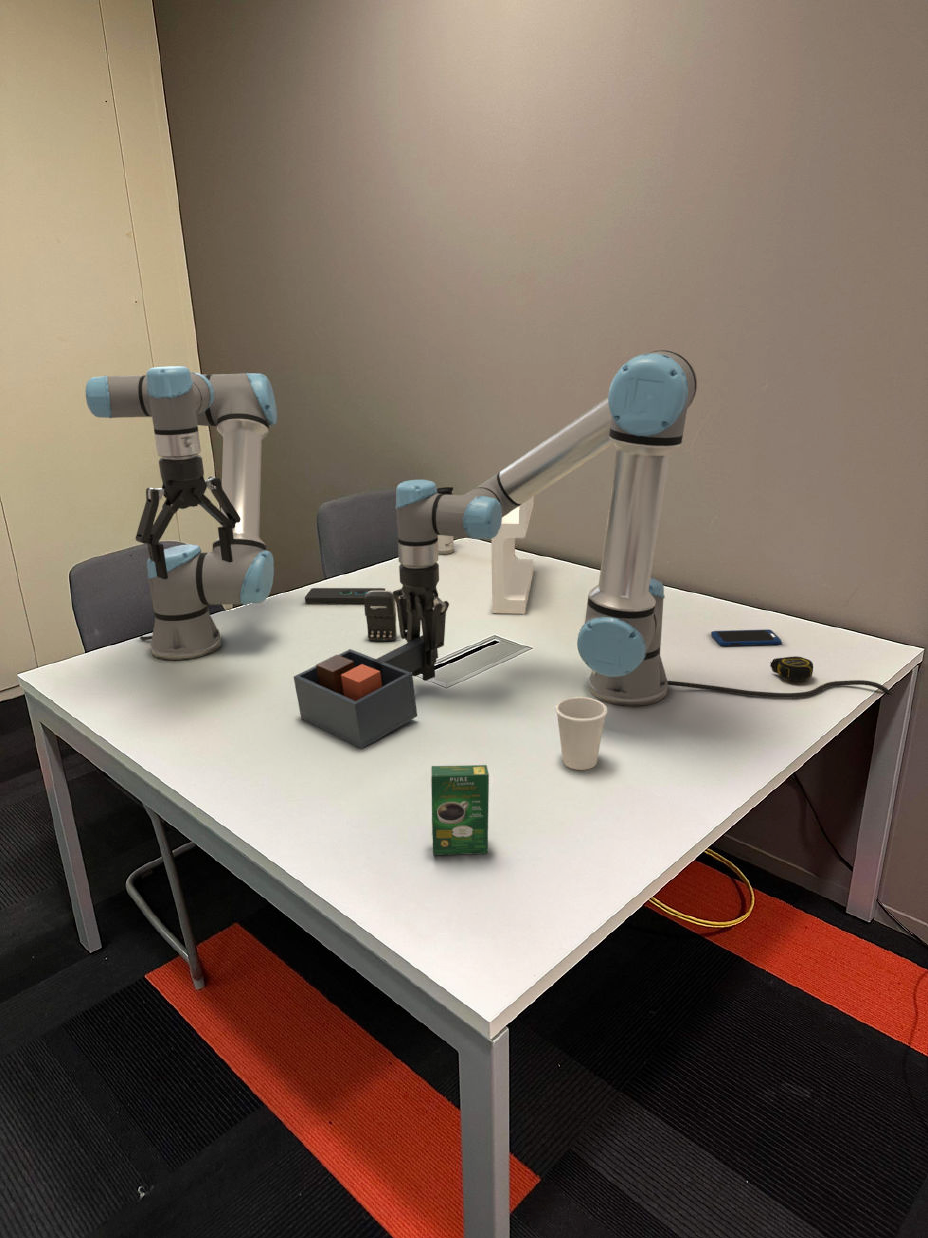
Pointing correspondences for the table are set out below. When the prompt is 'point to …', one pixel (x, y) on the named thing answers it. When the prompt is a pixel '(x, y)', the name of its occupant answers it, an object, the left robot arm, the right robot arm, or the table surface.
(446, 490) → the travel mug
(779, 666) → the tape measure
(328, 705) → the tote
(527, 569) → the white stand
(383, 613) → the battery charger
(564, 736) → the dixie cup
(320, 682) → the walnut block
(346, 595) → the smart home device
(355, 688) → the terracotta block
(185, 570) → the left robot arm
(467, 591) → the table surface
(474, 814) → the coffee box
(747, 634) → the cell phone
